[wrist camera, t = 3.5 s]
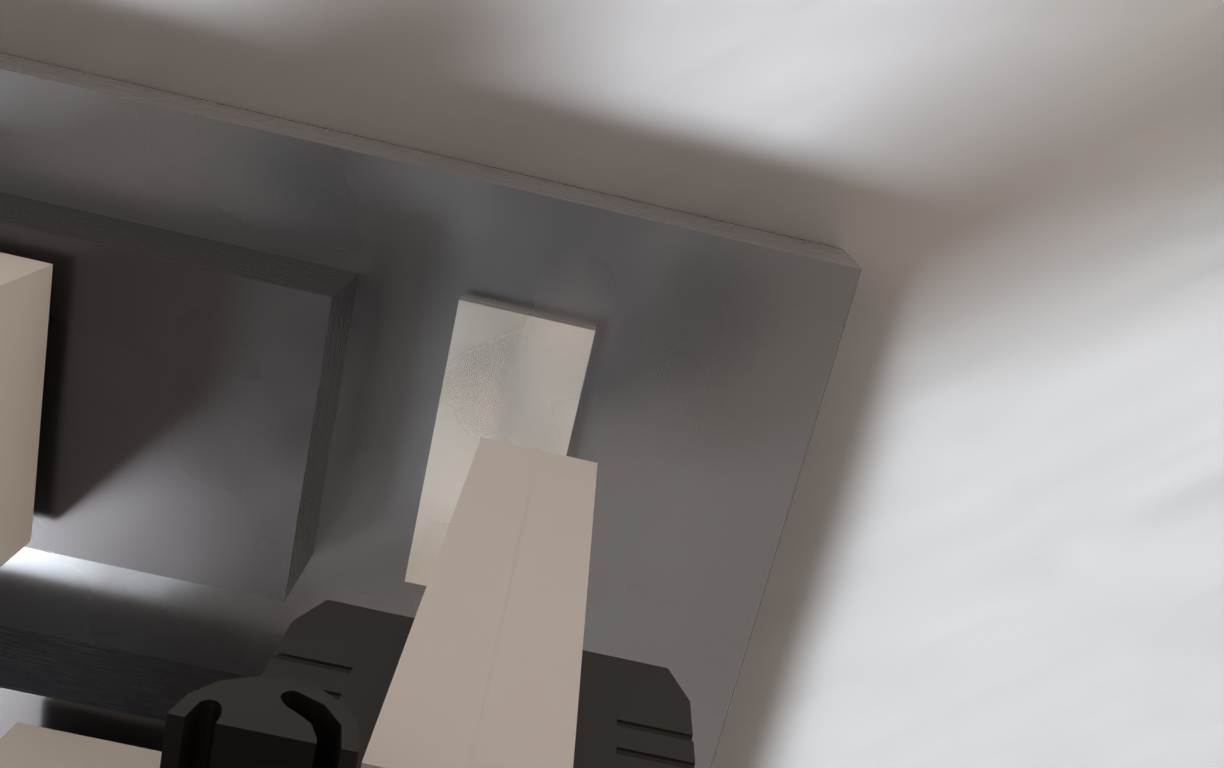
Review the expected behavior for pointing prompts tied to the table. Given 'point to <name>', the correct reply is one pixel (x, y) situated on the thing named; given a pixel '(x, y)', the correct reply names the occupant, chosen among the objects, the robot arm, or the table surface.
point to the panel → (372, 393)
